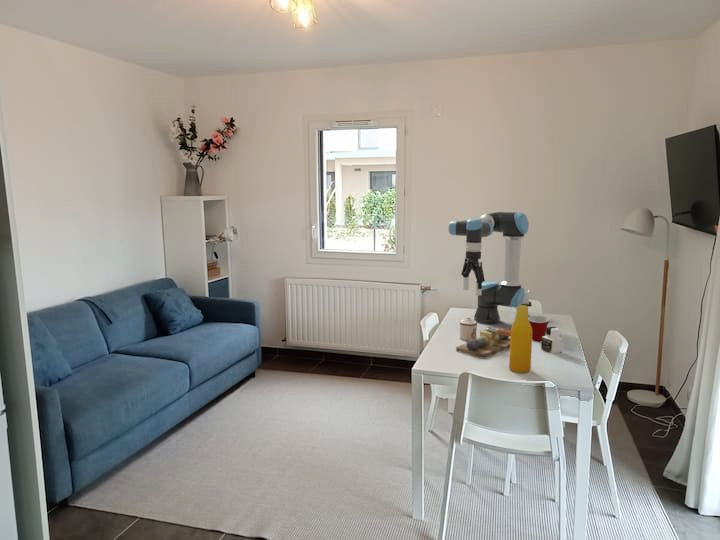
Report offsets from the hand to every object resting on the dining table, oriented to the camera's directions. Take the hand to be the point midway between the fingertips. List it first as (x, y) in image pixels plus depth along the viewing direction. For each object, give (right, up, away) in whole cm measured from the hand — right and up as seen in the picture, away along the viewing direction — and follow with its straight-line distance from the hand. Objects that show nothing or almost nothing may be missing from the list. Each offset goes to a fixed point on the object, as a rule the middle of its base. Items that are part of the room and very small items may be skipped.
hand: (472, 292), depth 278 cm
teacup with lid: (+1, -25, +16) cm, 30 cm away
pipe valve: (+8, -28, -1) cm, 29 cm away
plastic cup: (+37, -26, +11) cm, 46 cm away
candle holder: (+43, -17, +62) cm, 77 cm away
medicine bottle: (+38, -29, -7) cm, 48 cm away
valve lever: (+12, -20, -6) cm, 24 cm away
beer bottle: (+14, -33, -33) cm, 49 cm away
